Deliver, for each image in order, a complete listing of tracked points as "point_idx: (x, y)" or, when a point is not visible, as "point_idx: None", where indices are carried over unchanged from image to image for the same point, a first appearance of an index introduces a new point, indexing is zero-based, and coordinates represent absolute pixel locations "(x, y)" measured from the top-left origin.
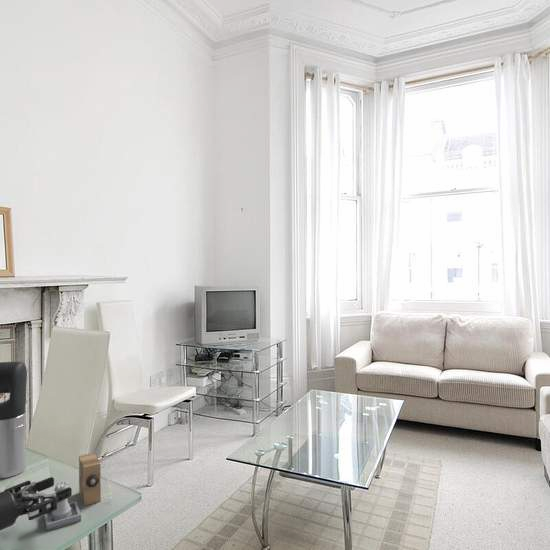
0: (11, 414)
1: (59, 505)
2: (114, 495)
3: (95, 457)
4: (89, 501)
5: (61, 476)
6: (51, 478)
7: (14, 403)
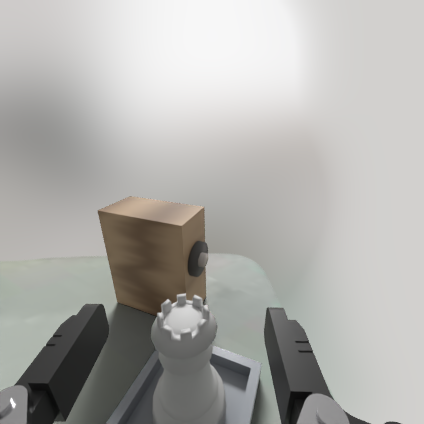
0: None
1: (202, 393)
2: (210, 273)
3: (156, 201)
4: None
5: (7, 288)
6: (96, 311)
7: None
